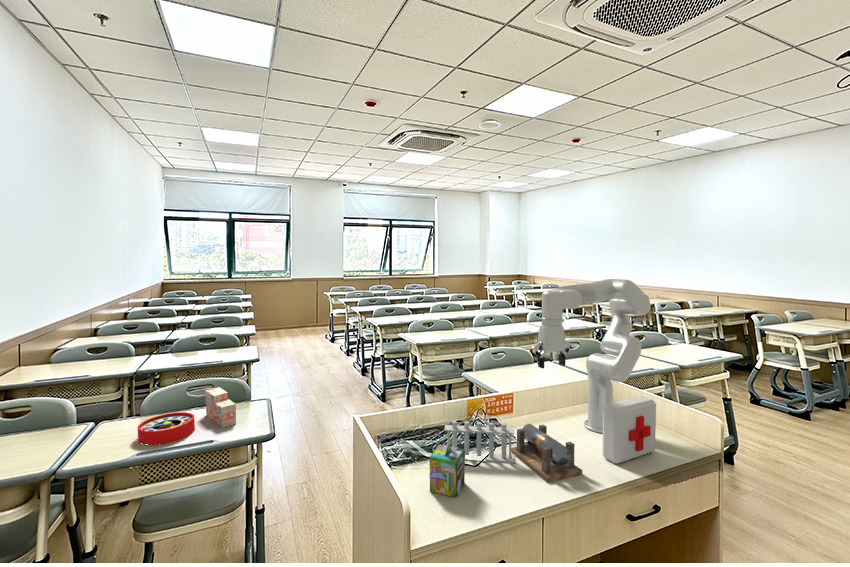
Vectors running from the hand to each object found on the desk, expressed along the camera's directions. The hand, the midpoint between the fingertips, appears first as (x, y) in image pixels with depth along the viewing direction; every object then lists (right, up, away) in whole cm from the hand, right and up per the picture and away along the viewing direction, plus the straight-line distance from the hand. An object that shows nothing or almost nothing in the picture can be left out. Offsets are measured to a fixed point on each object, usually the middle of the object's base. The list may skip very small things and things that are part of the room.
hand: (551, 366), depth 153 cm
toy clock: (-158, -32, +13) cm, 161 cm away
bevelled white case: (+25, -31, -10) cm, 41 cm away
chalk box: (-42, -33, -28) cm, 60 cm away
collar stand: (-7, -31, -14) cm, 35 cm away
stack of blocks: (-143, -31, +28) cm, 149 cm away
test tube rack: (-30, -32, -10) cm, 44 cm away
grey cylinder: (-7, -24, -14) cm, 29 cm away
